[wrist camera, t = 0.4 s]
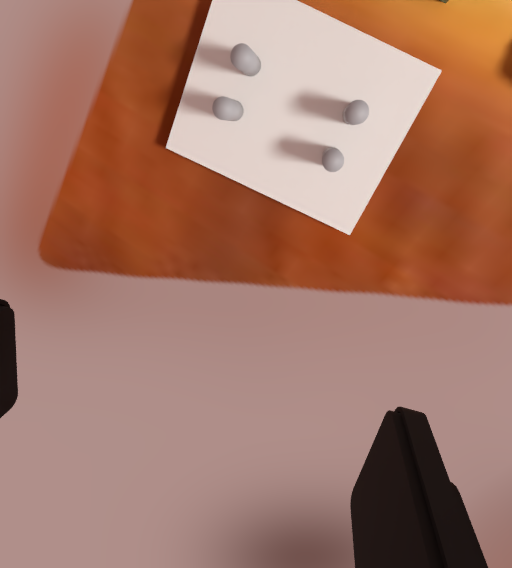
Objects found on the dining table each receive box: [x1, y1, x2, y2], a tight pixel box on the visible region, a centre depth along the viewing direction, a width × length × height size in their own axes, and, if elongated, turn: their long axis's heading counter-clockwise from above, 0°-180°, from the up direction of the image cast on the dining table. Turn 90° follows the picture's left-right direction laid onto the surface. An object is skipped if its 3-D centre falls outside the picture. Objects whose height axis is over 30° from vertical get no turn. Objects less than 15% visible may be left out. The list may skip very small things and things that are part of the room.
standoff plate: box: [166, 0, 442, 235], centre depth 31 cm, size 14×18×6 cm
